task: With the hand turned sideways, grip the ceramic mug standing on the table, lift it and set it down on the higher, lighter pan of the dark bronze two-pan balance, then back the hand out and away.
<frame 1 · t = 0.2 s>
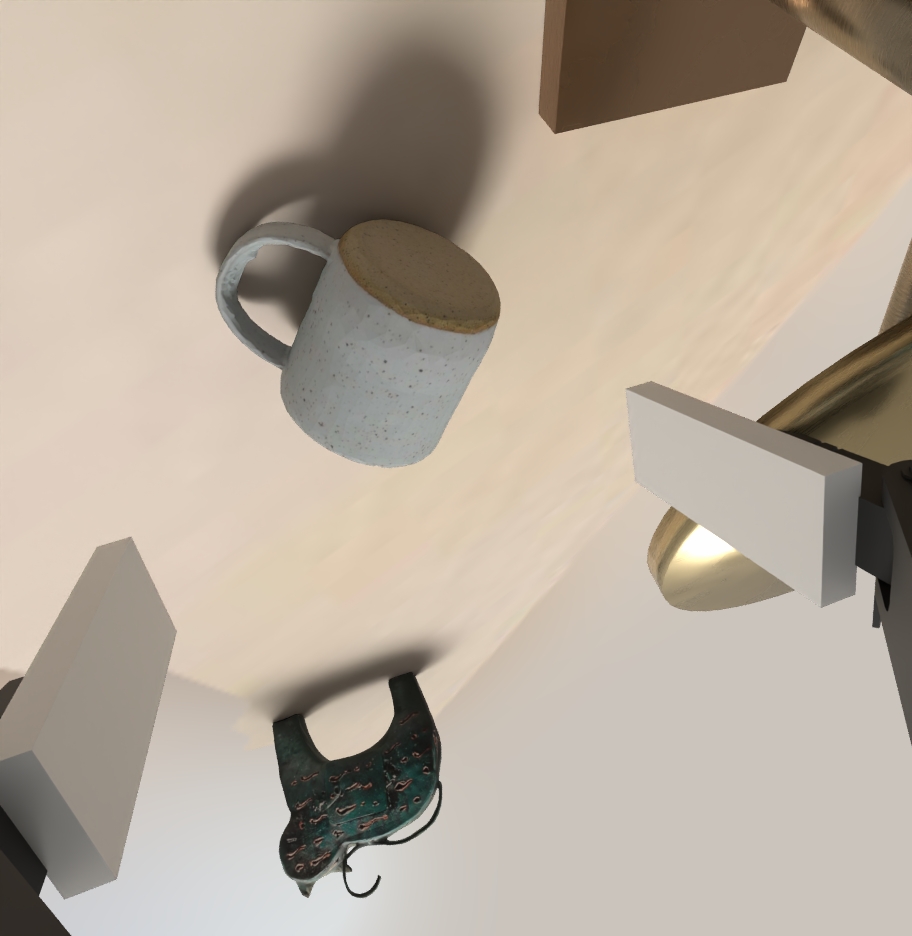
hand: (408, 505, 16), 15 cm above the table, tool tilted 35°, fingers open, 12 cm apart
ceramic mug: (340, 285, 29), on the table
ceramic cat: (340, 698, 76), on the table
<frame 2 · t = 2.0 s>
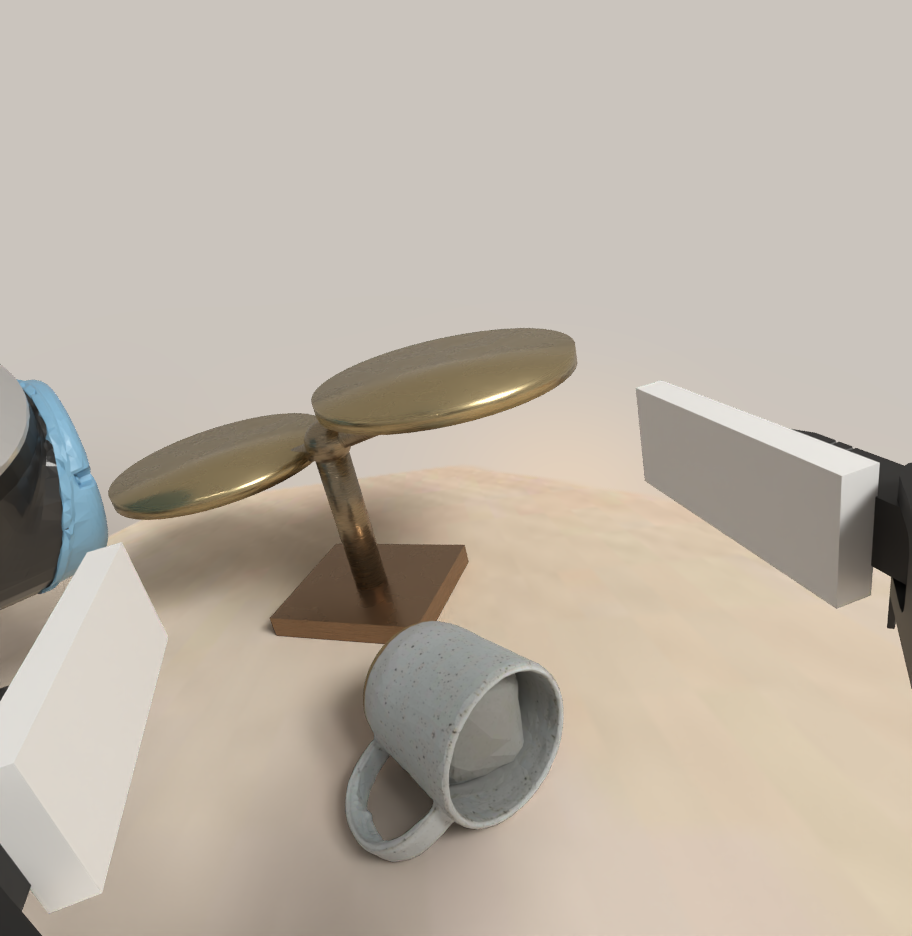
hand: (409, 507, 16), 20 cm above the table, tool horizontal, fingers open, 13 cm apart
balance: (376, 597, 49), on the table
ceramic mug: (456, 785, 32), on the table
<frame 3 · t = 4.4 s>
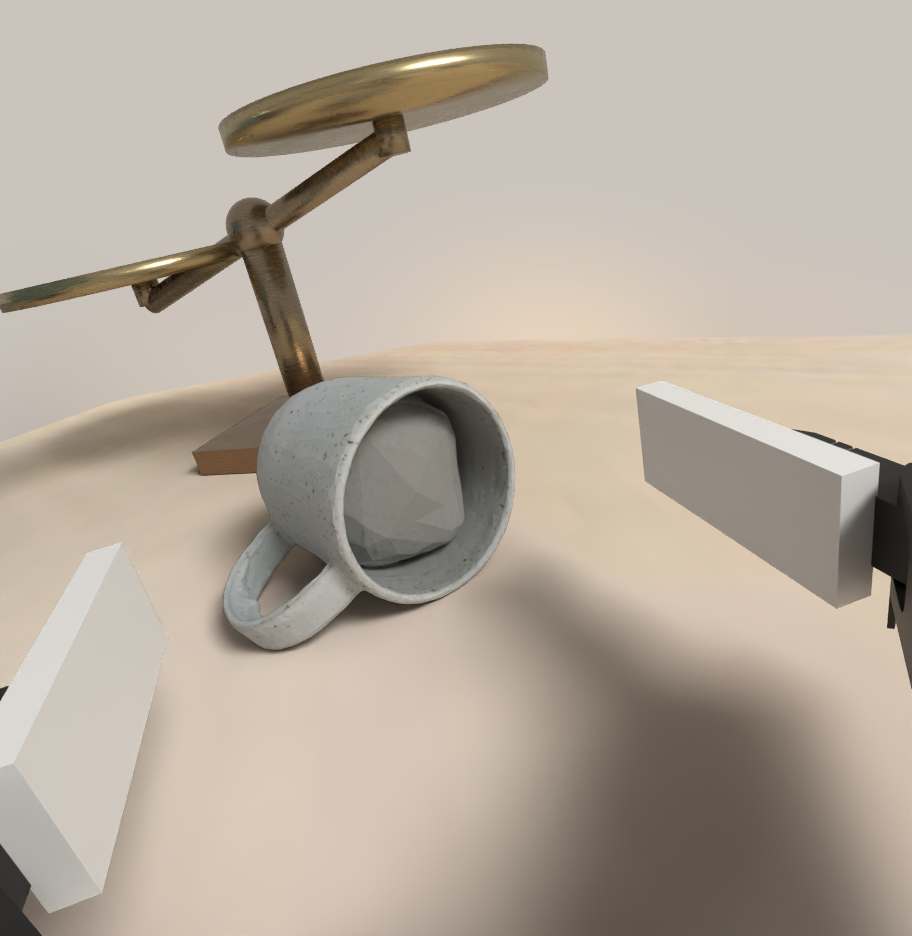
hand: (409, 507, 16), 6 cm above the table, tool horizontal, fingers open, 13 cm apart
balance: (321, 437, 41), on the table
ceramic mug: (377, 580, 25), on the table
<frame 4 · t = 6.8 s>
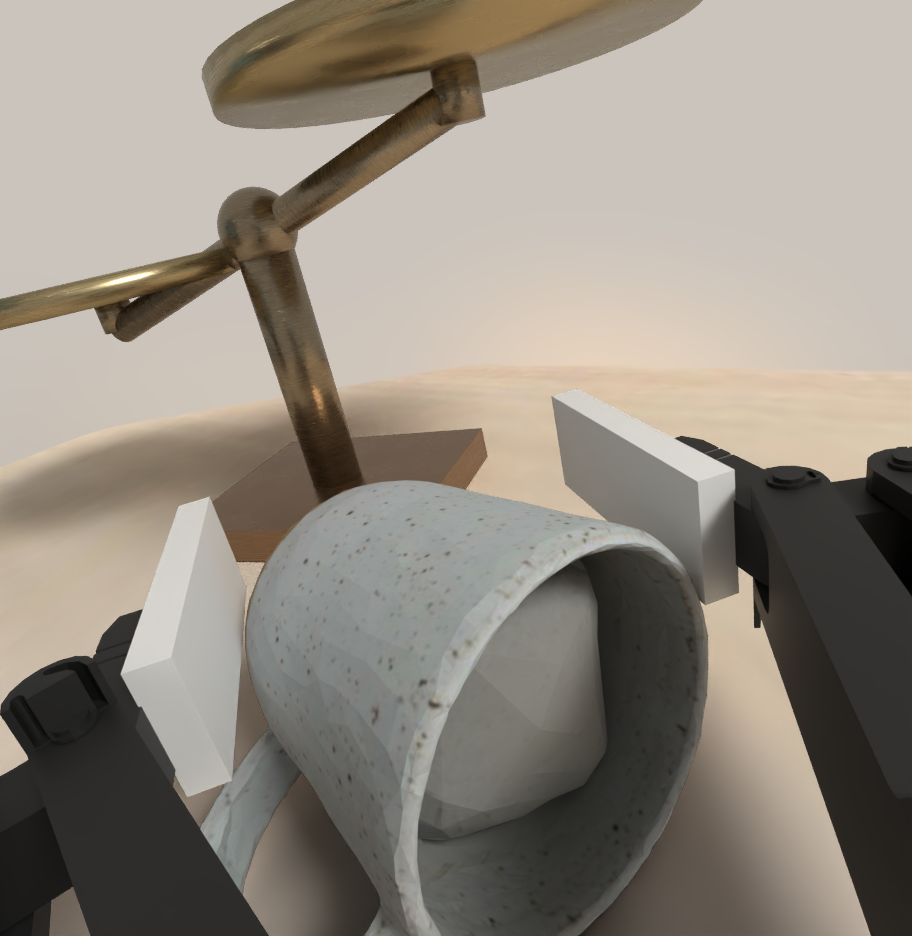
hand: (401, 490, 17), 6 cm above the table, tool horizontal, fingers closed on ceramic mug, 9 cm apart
balance: (345, 505, 31), on the table
ceramic mug: (452, 834, 14), on the table, touching gripper
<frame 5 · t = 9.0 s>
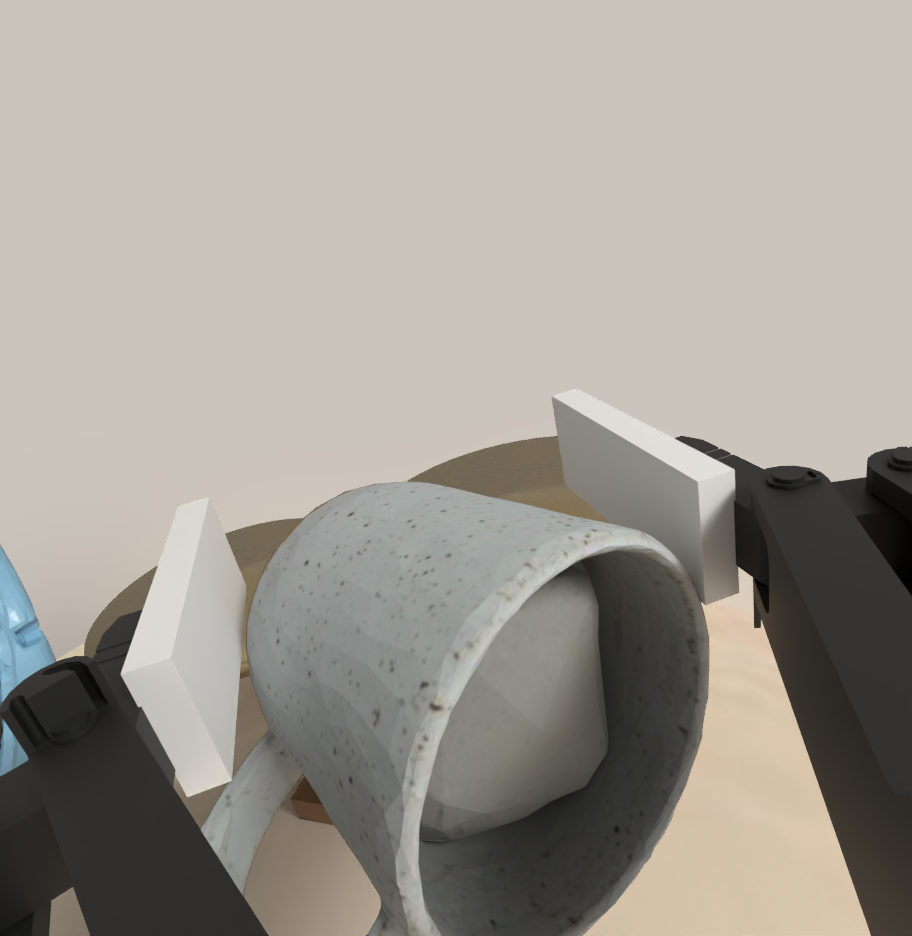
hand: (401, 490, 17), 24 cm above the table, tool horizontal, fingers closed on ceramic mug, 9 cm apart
balance: (423, 760, 39), on the table
ceramic mug: (452, 836, 14), point 18 cm above the table, touching gripper
when the fingers open (25 cm above the table, at t = 11.3 s): ceramic mug drops 1 cm, resting on balance.
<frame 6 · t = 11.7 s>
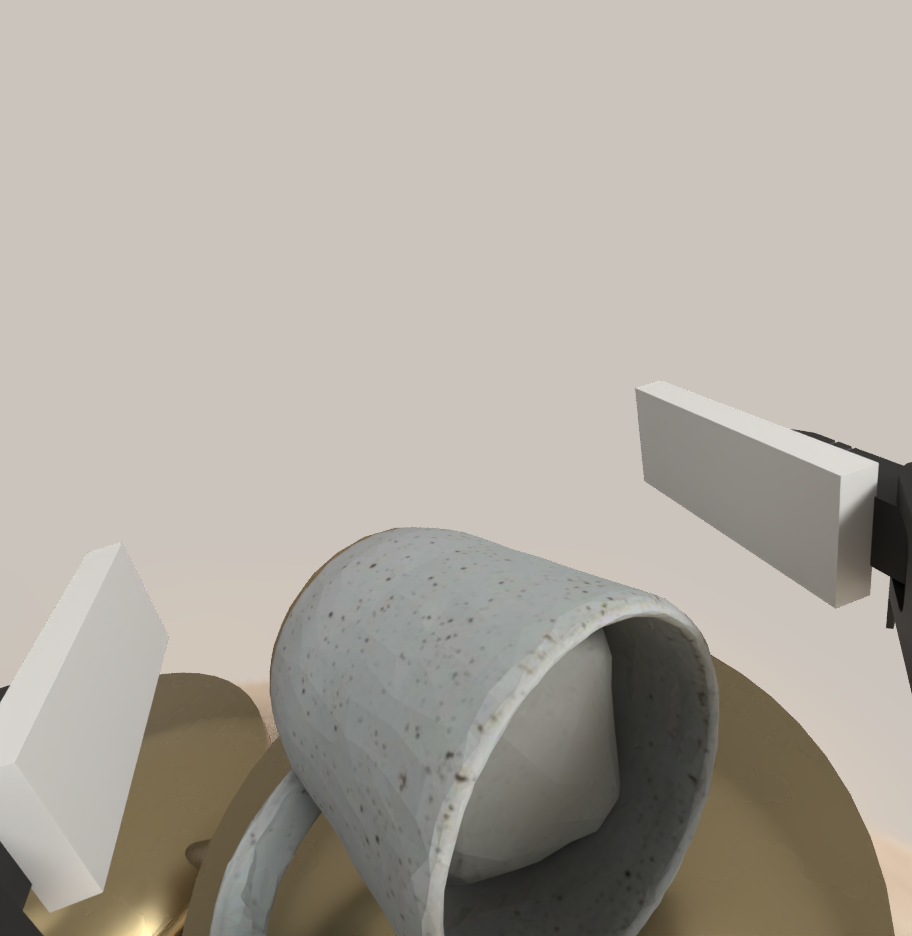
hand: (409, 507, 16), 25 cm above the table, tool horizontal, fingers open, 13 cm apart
ceramic mug: (468, 874, 15), point 17 cm above the table, touching balance
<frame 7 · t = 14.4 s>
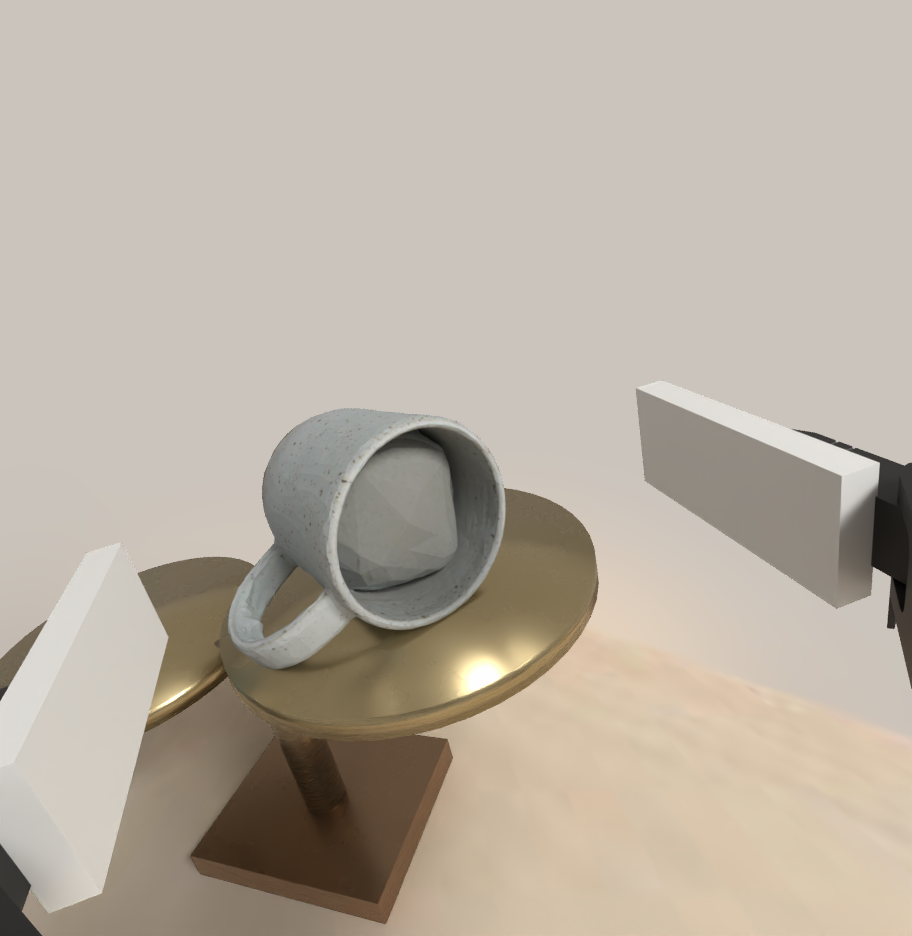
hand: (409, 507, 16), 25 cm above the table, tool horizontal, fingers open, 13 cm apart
balance: (333, 812, 38), on the table
ceramic mug: (374, 602, 26), point 17 cm above the table, touching balance
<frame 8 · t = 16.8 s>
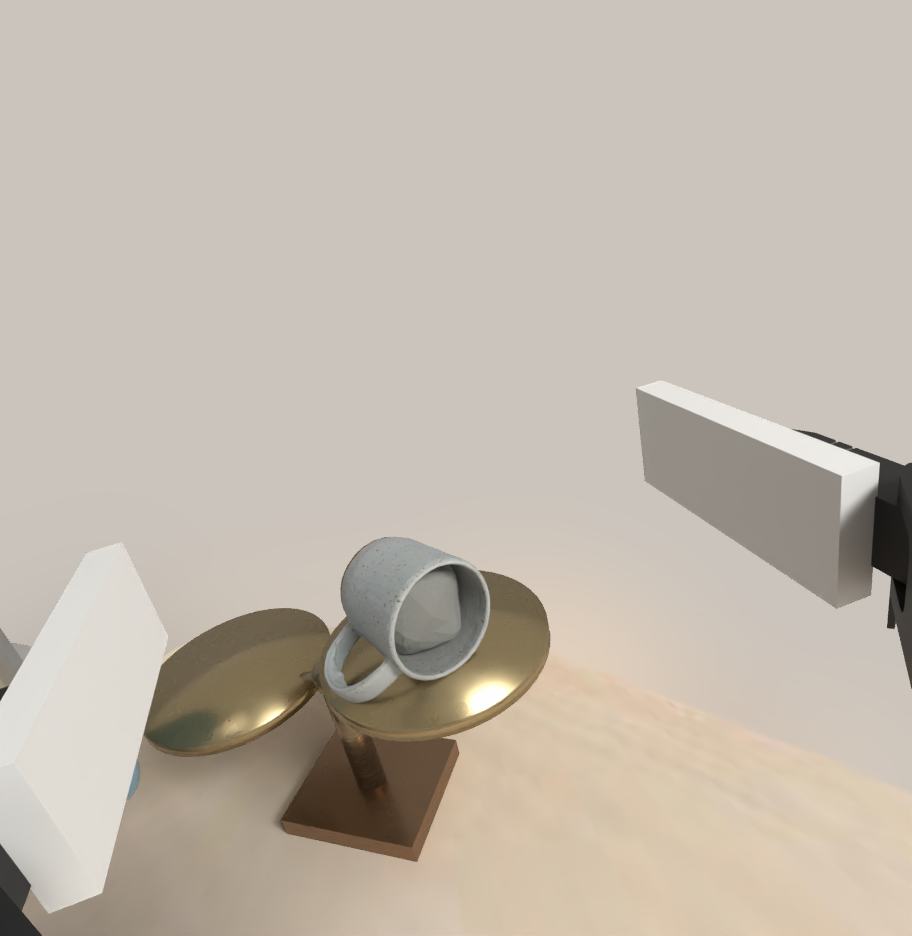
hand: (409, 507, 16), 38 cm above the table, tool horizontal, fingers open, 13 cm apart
balance: (376, 791, 54), on the table
ceramic mug: (410, 659, 42), point 17 cm above the table, touching balance
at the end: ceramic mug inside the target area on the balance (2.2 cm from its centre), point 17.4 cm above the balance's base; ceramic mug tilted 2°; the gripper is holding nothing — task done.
